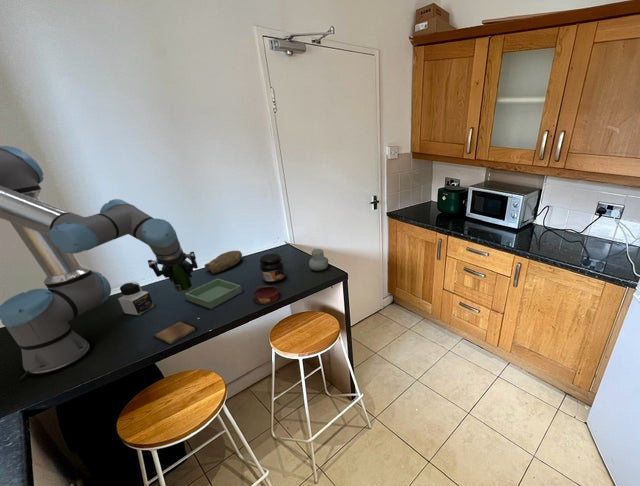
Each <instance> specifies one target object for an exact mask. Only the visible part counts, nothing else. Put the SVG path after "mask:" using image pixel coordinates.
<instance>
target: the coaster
mask: <svg viewBox="0 0 640 486" xmlns="http://www.w3.org/2000/svg"><path fill="white" fill-rule="evenodd" d="M195 331H196V328H195V327H194V326H191V325H190V324H187V323H185V322H182V321H178V322H176V323H174V324H172V325H170V326H168V327H166V328H165V329H163V330H161V331H160V332H157V333H156V334H154V336H155V338H158V339H160V340H161V341H164V342H166V343H167V344H173V343H175V342H177V341H178V340H180V339H182V338H184V337H185V336H187V335H189V334H191V333H193V332H195Z"/></svg>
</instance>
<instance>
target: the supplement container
mask: <svg viewBox="0 0 640 486" xmlns="http://www.w3.org/2000/svg"><path fill="white" fill-rule="evenodd" d="M258 260H259V263H260V264H259V268H260V272H261V273H260V274H261V277H262V281H263V282H264V283H266V284H269V285H273V284H278V283H281V282H283V281H284V280H285V279H286V273H285V267H284V261H283V260H282V255H281V254H279V253H276V252H275V253H274V252H272V253H266V254H263V255H261V256H260V257H259V259H258Z"/></svg>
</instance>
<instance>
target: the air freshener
mask: <svg viewBox="0 0 640 486" xmlns="http://www.w3.org/2000/svg"><path fill="white" fill-rule="evenodd" d="M324 254H325V253H324V250H323V249H322V248H315V249H313V250H311V258H310V260H309V262H308V267H309V269H311V270H312V271H316V272H320V271H321V272H322V271H324V270H326V269H327V268H328V266H329V258H328V257H325V255H324Z"/></svg>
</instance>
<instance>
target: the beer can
mask: <svg viewBox="0 0 640 486" xmlns="http://www.w3.org/2000/svg"><path fill="white" fill-rule="evenodd" d="M169 272H170V275H171V278H172V281H173V282H172V284H173V286H174V290H175V291H177V292H179V293H183V292H184V293H185V292H189V291H191V289H192V288H193V284H192V280H191V278H190V277H189V274H188V272H187V269H186V268H185V267H183V266H180V265H173V266H171V267H170V269H169Z"/></svg>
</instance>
